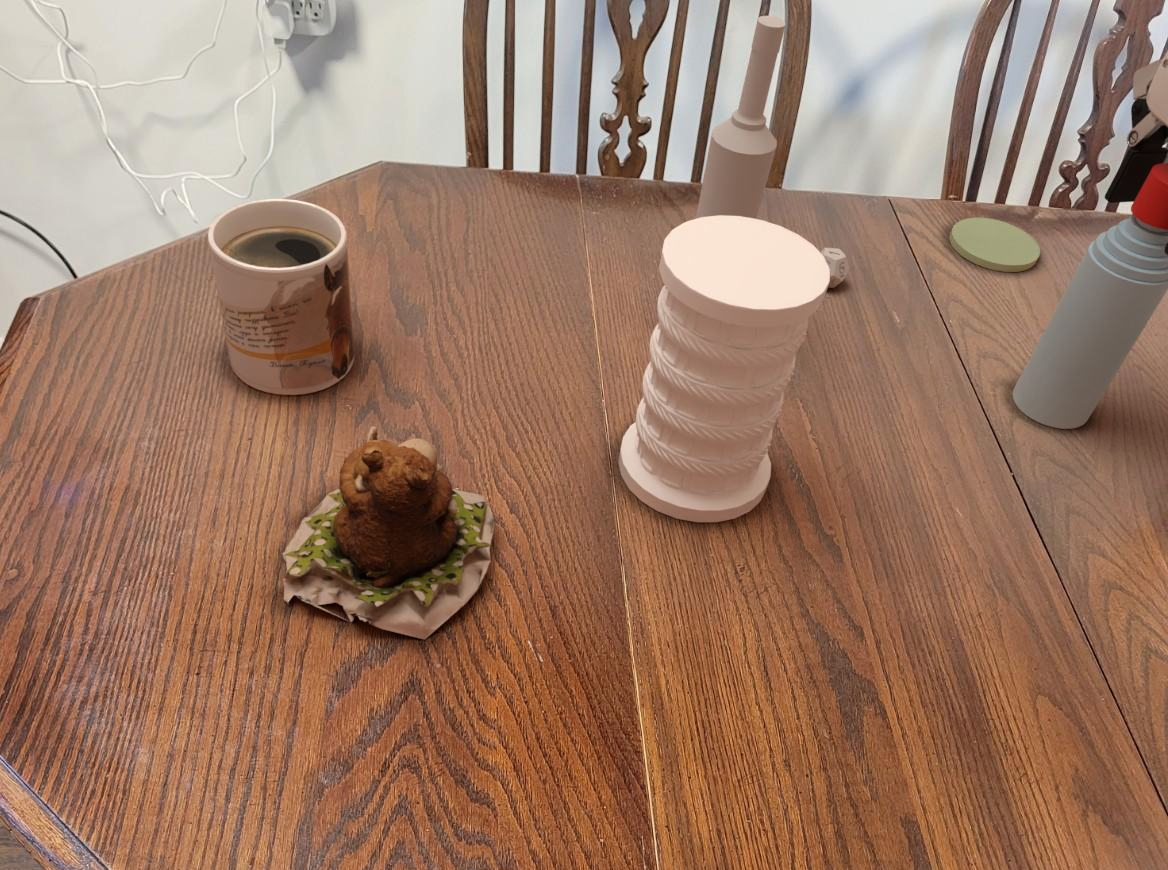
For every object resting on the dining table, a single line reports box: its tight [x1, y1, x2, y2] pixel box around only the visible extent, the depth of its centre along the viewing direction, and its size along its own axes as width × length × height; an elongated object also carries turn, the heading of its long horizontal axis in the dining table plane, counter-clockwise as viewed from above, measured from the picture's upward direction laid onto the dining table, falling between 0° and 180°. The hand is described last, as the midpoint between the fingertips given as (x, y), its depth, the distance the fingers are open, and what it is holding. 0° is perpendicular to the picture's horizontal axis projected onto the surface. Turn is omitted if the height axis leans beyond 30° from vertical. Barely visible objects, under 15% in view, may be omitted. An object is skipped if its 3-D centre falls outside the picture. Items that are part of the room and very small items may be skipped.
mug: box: [207, 198, 355, 396], centre depth 81 cm, size 10×12×11 cm
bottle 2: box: [1012, 213, 1168, 430], centre depth 83 cm, size 7×7×20 cm
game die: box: [819, 247, 851, 289], centre depth 98 cm, size 4×4×3 cm
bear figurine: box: [282, 425, 496, 640], centre depth 67 cm, size 14×15×12 cm
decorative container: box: [617, 215, 830, 523], centre depth 73 cm, size 12×12×18 cm
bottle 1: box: [695, 15, 786, 219], centre depth 84 cm, size 5×5×25 cm
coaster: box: [948, 217, 1041, 273], centre depth 107 cm, size 9×9×1 cm
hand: (1152, 224), depth 78 cm, fingers open, 6 cm apart
